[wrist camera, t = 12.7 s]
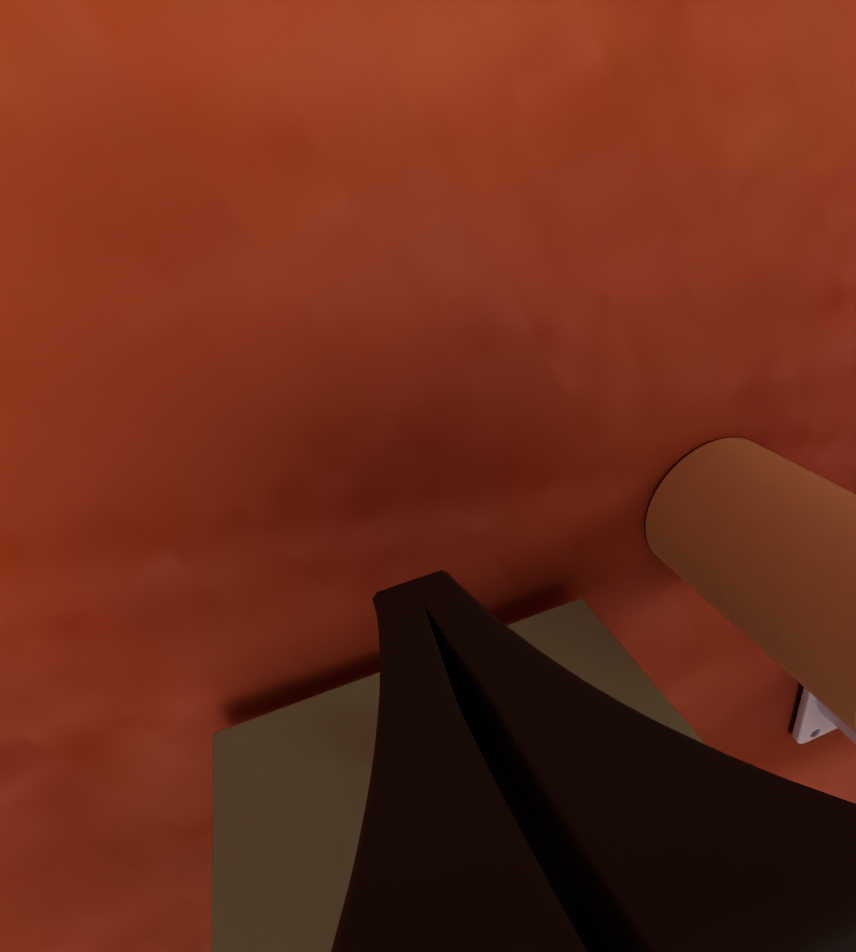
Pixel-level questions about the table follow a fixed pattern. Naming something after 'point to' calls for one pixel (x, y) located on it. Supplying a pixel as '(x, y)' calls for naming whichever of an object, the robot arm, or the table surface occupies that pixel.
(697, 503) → the paper roll
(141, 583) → the table surface
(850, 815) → the robot arm
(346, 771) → the drawer
